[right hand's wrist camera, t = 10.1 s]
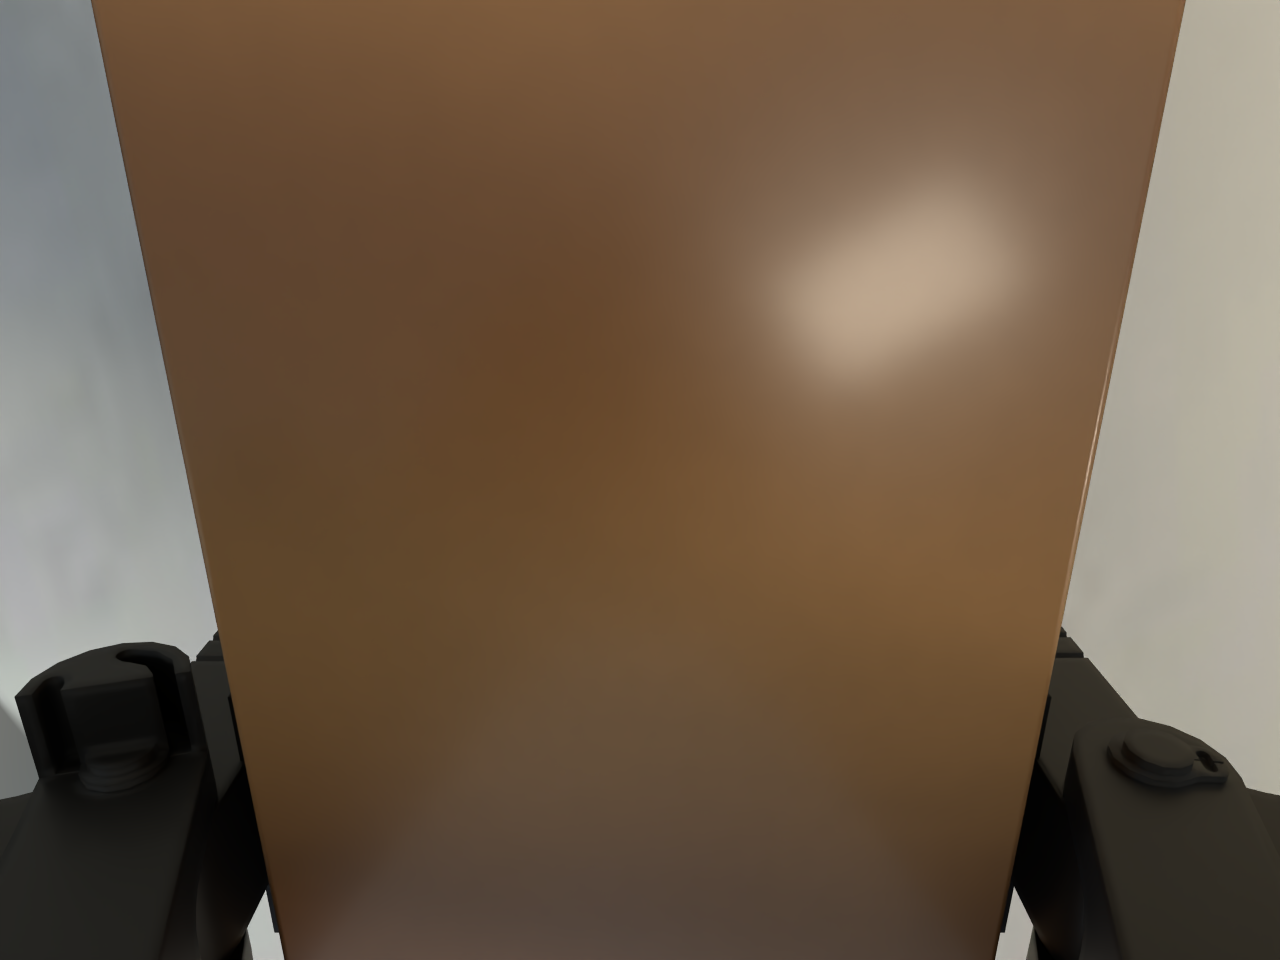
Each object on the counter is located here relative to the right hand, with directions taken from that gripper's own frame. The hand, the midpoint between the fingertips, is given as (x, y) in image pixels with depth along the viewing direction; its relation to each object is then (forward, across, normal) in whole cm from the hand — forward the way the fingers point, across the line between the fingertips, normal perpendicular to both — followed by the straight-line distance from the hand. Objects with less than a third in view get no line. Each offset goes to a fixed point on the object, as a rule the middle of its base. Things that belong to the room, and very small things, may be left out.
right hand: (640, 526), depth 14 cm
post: (+1, 0, -27) cm, 27 cm away
